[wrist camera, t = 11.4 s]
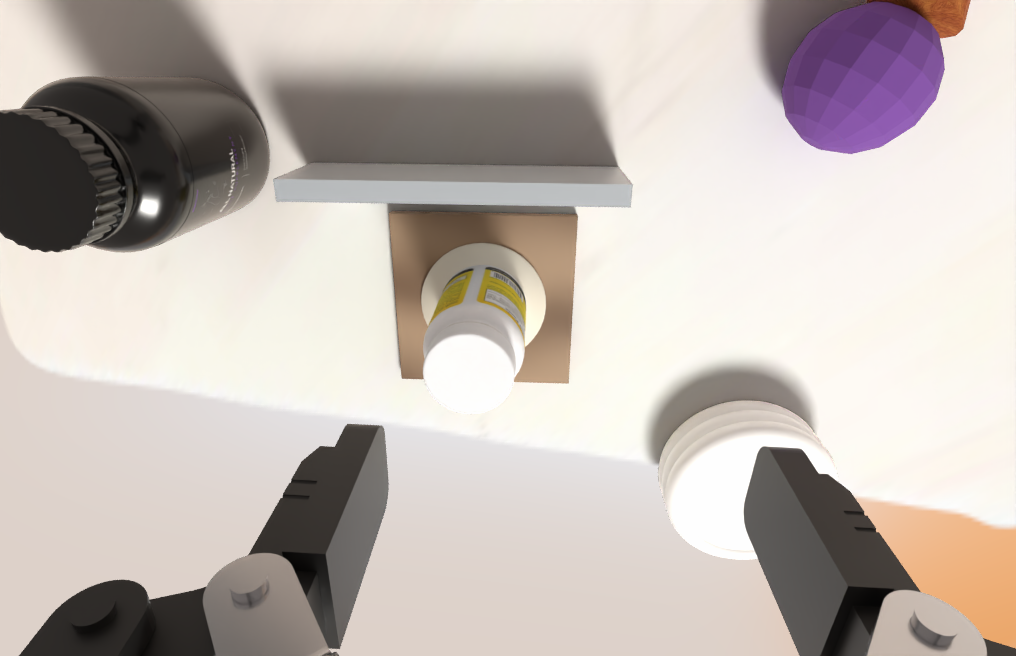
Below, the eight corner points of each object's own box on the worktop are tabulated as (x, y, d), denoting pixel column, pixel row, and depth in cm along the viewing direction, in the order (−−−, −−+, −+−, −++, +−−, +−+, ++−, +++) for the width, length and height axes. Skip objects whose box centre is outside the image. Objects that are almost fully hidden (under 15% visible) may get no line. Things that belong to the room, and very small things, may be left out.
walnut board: (391, 211, 32) (388, 214, 31) (576, 214, 31) (577, 217, 30) (403, 373, 36) (400, 380, 35) (568, 378, 35) (568, 384, 34)
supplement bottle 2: (444, 341, 34) (416, 421, 26) (438, 263, 32) (406, 324, 24) (527, 341, 33) (523, 422, 26) (526, 262, 32) (522, 324, 24)
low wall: (312, 162, 31) (273, 179, 26) (618, 166, 30) (632, 184, 25) (315, 181, 31) (276, 201, 27) (616, 186, 30) (630, 207, 26)
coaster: (676, 386, 35) (689, 418, 32) (839, 406, 35) (869, 440, 32) (642, 514, 39) (651, 553, 36) (788, 532, 39) (810, 573, 36)
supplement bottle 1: (295, 193, 31) (165, 260, 21) (183, 223, 32) (2, 303, 22) (240, 57, 29) (57, 52, 18) (120, 95, 30) (-123, 112, 19)
